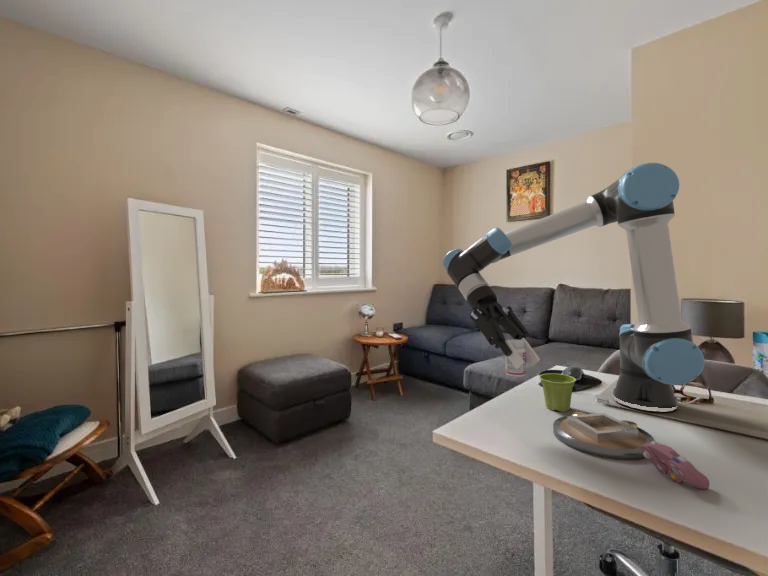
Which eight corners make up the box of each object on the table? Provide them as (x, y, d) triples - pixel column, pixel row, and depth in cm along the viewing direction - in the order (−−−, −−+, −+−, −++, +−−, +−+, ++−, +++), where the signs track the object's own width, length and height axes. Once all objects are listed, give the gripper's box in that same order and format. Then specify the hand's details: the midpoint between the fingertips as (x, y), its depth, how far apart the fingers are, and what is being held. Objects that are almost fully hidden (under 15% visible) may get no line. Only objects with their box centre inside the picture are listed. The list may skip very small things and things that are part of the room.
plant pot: (554, 415, 96) (554, 383, 96) (532, 404, 105) (532, 374, 105) (584, 412, 98) (583, 380, 98) (559, 400, 108) (559, 372, 107)
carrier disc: (606, 417, 94) (606, 404, 94) (680, 454, 74) (680, 437, 74) (536, 424, 91) (536, 410, 91) (593, 464, 71) (593, 446, 71)
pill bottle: (527, 377, 86) (527, 342, 86) (507, 376, 87) (506, 342, 87) (524, 372, 91) (523, 339, 91) (504, 371, 92) (503, 338, 91)
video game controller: (646, 470, 72) (631, 441, 71) (665, 459, 72) (650, 429, 71) (694, 501, 62) (677, 467, 61) (715, 487, 62) (698, 453, 62)
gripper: (494, 300, 106) (543, 367, 92) (446, 304, 98) (493, 378, 84) (507, 283, 101) (562, 350, 87) (459, 285, 93) (510, 360, 79)
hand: (528, 364), depth 86 cm, fingers closed on pill bottle, 5 cm apart
